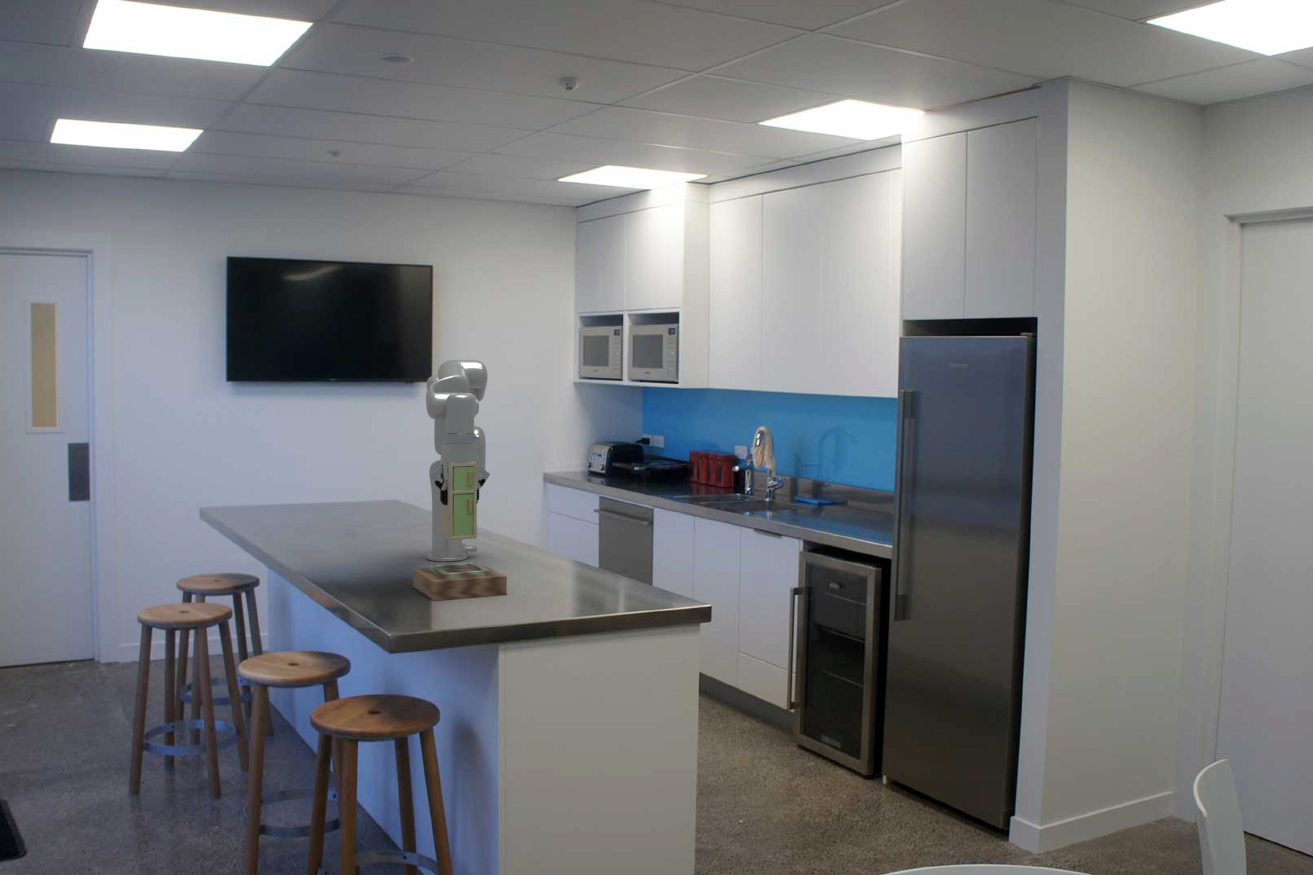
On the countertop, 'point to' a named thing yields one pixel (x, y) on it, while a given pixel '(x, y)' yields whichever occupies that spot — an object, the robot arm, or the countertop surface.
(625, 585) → the countertop surface
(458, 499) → the toy refrigerator
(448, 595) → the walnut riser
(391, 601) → the countertop surface
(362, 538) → the countertop surface
